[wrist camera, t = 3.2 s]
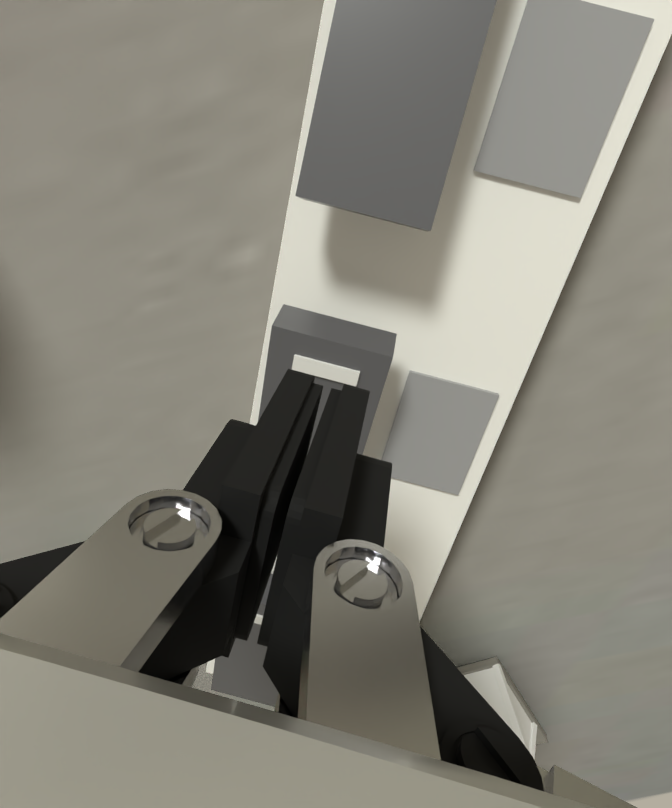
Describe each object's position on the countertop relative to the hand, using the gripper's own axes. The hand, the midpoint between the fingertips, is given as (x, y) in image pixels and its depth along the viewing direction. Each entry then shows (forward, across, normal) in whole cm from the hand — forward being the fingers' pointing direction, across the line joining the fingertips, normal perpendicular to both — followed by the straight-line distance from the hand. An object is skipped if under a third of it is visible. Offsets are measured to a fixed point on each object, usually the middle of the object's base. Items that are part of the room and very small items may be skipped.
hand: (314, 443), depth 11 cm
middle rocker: (+7, 0, +4) cm, 8 cm away
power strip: (+12, -1, +4) cm, 13 cm away
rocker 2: (+8, 0, -7) cm, 10 cm away
